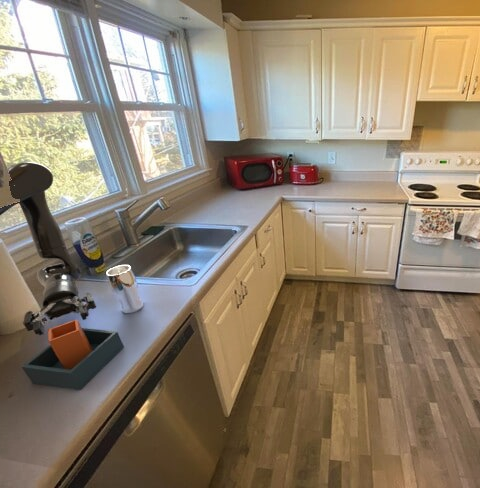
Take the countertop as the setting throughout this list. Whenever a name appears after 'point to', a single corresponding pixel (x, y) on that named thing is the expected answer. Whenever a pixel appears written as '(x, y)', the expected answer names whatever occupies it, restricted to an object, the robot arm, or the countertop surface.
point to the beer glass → (125, 287)
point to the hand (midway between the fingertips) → (62, 324)
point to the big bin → (53, 373)
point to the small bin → (69, 343)
